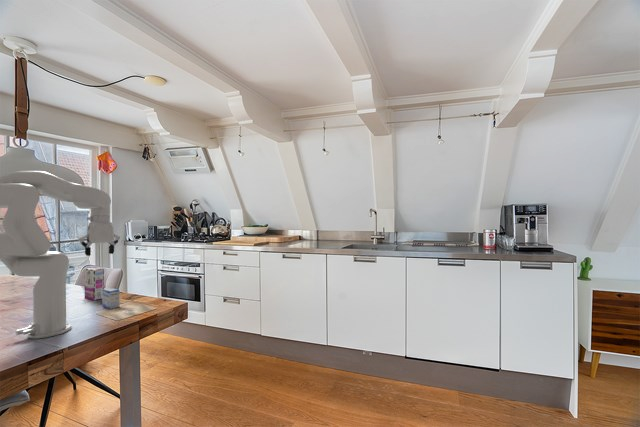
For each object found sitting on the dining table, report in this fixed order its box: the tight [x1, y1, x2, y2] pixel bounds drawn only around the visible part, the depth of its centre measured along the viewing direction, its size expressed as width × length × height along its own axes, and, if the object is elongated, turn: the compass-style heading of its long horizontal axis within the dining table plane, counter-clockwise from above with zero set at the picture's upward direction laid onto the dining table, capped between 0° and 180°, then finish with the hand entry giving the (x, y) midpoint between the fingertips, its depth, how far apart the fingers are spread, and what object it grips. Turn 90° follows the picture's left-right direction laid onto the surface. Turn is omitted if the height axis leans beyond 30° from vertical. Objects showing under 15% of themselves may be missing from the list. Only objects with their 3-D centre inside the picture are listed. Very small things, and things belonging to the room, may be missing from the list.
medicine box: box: [101, 287, 121, 310], centre depth 147 cm, size 8×4×9 cm, turn 59°
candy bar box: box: [83, 266, 105, 302], centre depth 162 cm, size 11×5×16 cm, turn 60°
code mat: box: [96, 302, 158, 322], centre depth 140 cm, size 18×18×1 cm
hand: (100, 254), depth 145 cm, fingers open, 9 cm apart
